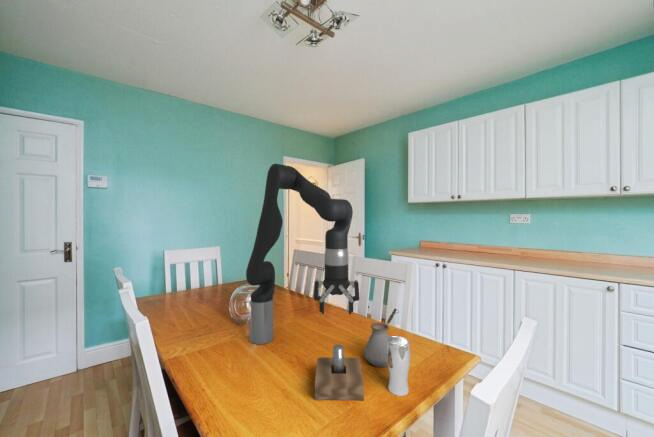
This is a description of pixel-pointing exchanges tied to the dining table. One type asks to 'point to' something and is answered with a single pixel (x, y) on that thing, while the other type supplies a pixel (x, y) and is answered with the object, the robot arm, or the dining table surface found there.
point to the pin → (338, 359)
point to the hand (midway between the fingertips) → (336, 313)
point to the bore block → (339, 380)
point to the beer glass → (398, 364)
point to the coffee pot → (378, 343)
